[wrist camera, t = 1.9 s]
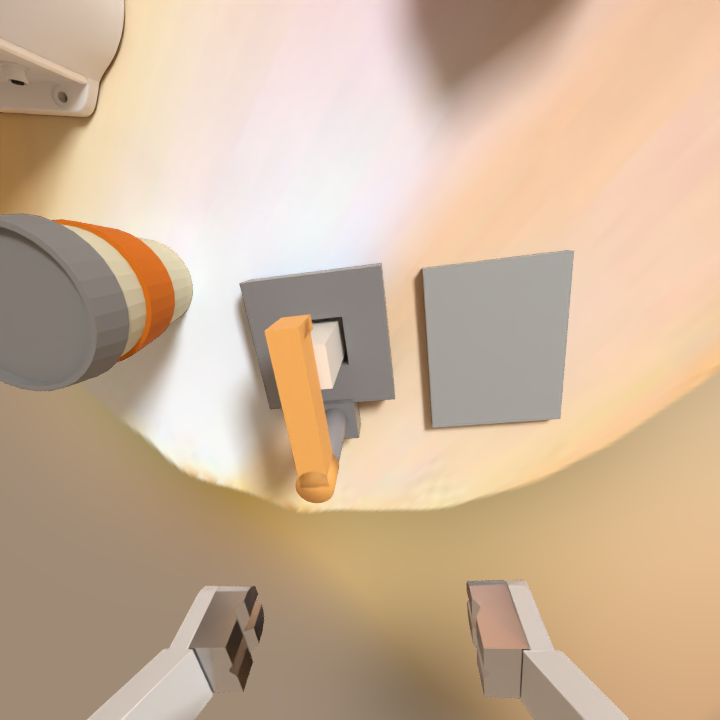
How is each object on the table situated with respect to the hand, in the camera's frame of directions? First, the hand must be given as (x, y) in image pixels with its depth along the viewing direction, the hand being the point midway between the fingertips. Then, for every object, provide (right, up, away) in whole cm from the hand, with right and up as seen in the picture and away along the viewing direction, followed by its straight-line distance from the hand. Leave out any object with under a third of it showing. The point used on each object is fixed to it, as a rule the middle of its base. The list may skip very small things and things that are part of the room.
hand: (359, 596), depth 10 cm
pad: (+14, +8, +27) cm, 32 cm away
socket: (-3, +7, +29) cm, 30 cm away
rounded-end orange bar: (-4, +3, +20) cm, 21 cm away
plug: (-4, +9, +28) cm, 30 cm away
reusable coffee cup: (-23, +15, +28) cm, 39 cm away
